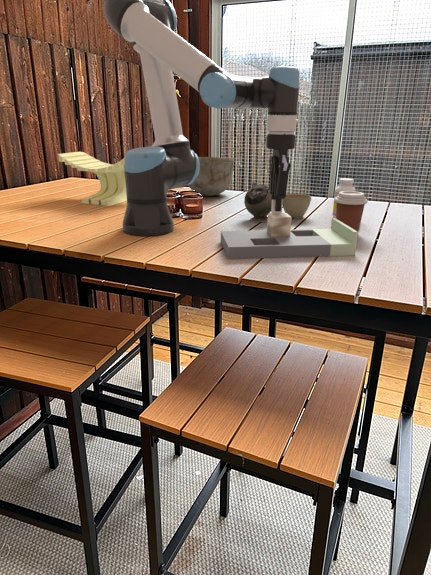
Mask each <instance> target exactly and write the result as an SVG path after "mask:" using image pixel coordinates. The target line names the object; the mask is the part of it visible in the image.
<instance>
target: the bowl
mask: <svg viewBox="0 0 431 575" xmlns="http://www.w3.org/2000/svg"><path fill="white" fill-rule="evenodd" d="M198 158H199V162H200V170H199V174H198V176H197V178H196V179H195V181H194V182H193V183H191V184H190V185H187V187H189V188H190V190H191V191H193V190H195V191H197V192H199V193H200V194H202V195H201V196H203V197H204V196H205V197H212V196H216V195H220V194H222V193H224V192H225V191H226V190H227V189H228V188H229V187H230V185H231V182H232V179H233V169H234V164H235V158H225V157H215V156H198ZM200 194H199V195H200Z"/></svg>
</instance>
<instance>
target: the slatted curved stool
mask: <svg viewBox="0 0 431 575" xmlns="http://www.w3.org/2000/svg"><path fill="white" fill-rule="evenodd" d="M57 157H58V162H59V163H63V162H64V164H65V166H69V165H70V167H71V168H73V169H74V168H75V169H76V170H77V172H92V173H93V174H95V175H96V177H97V179H98V180H99V183H100V189H99V191H97V192H96V193H94V194H92V195H89V196H86V197H83V198H82V200H81V202H80V203H81V204H87V205H89V204H90V205H98V206H100V205H101V206H104V207H106V206H107V207H110V206H113V205H118V204H119V203H124V202H127V195H126V182H125V170H124V158H122V159H121V160H119V161H117V162H116V163H114V164H113V163H112V164H111V163H107V162H103V161H101V160H100V159H98V158H97V159H96V158H95V157H94V156H91V155H89V154H88V153H86V152H83V151H74V152H65V153H64V152H63V153H57Z"/></svg>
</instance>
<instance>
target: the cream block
mask: <svg viewBox="0 0 431 575" xmlns="http://www.w3.org/2000/svg"><path fill="white" fill-rule="evenodd" d="M267 218H268V222H267V226H266V227H267V229H266V230H267V232H268V233H269V234H270V235H271V236H290V232H291V230H292V219H293V218H292V217H291V216H290V215H288V214H287V213H285V212H282V213H271V212H270V213H268V215H267Z"/></svg>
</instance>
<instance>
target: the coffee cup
mask: <svg viewBox="0 0 431 575" xmlns="http://www.w3.org/2000/svg"><path fill="white" fill-rule="evenodd" d="M334 201H335V202H336V219H338V220H339V221H341V222H343V223H344V224H346V225H347V226H349V227H351V228H352V229H354V230H356V231H357V232H358V233H360V228H361V224H362V223H361V222H362V218H363V213H364V209H365V206H366V204H368V202H369V201H368V199H367V198H366V197H365V193H364V192H361V191H341V192H339V195H338V196H337V197H336V198H335V199H334V198H333V202H334Z"/></svg>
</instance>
